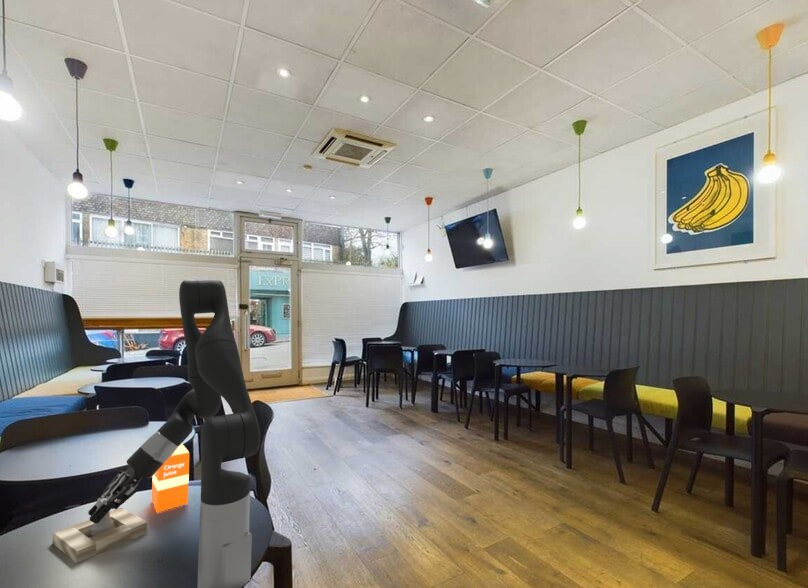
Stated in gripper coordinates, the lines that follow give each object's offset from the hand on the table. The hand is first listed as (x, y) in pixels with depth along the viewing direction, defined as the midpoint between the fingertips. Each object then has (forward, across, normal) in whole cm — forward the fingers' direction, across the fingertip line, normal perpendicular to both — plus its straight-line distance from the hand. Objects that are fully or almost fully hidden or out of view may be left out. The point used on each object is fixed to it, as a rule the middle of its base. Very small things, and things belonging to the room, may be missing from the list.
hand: (92, 518), depth 91 cm
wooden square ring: (+2, 0, +5) cm, 6 cm away
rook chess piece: (+2, 0, +4) cm, 5 cm away
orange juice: (-9, -9, +17) cm, 21 cm away
